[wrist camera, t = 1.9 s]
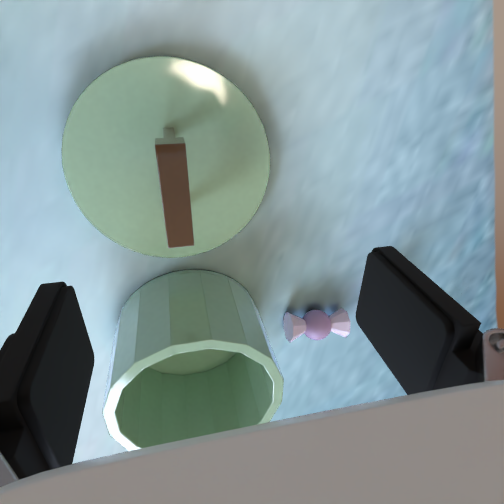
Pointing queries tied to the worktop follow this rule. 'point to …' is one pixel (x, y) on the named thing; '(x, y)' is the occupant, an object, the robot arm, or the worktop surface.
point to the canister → (189, 362)
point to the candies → (316, 324)
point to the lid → (165, 156)
